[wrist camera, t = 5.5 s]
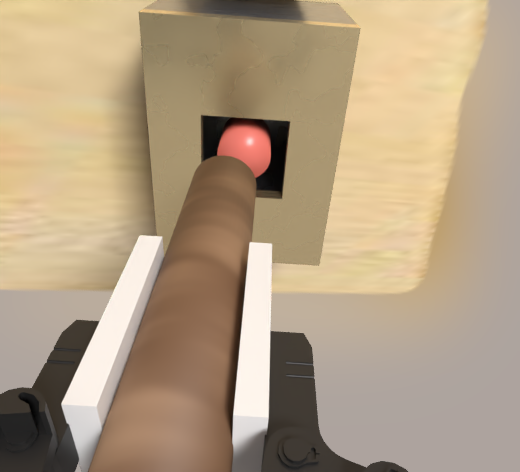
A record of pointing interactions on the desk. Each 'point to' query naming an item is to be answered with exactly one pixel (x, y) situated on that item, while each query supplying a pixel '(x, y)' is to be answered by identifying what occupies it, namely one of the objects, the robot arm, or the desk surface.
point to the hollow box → (250, 106)
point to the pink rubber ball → (247, 143)
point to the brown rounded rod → (188, 337)
